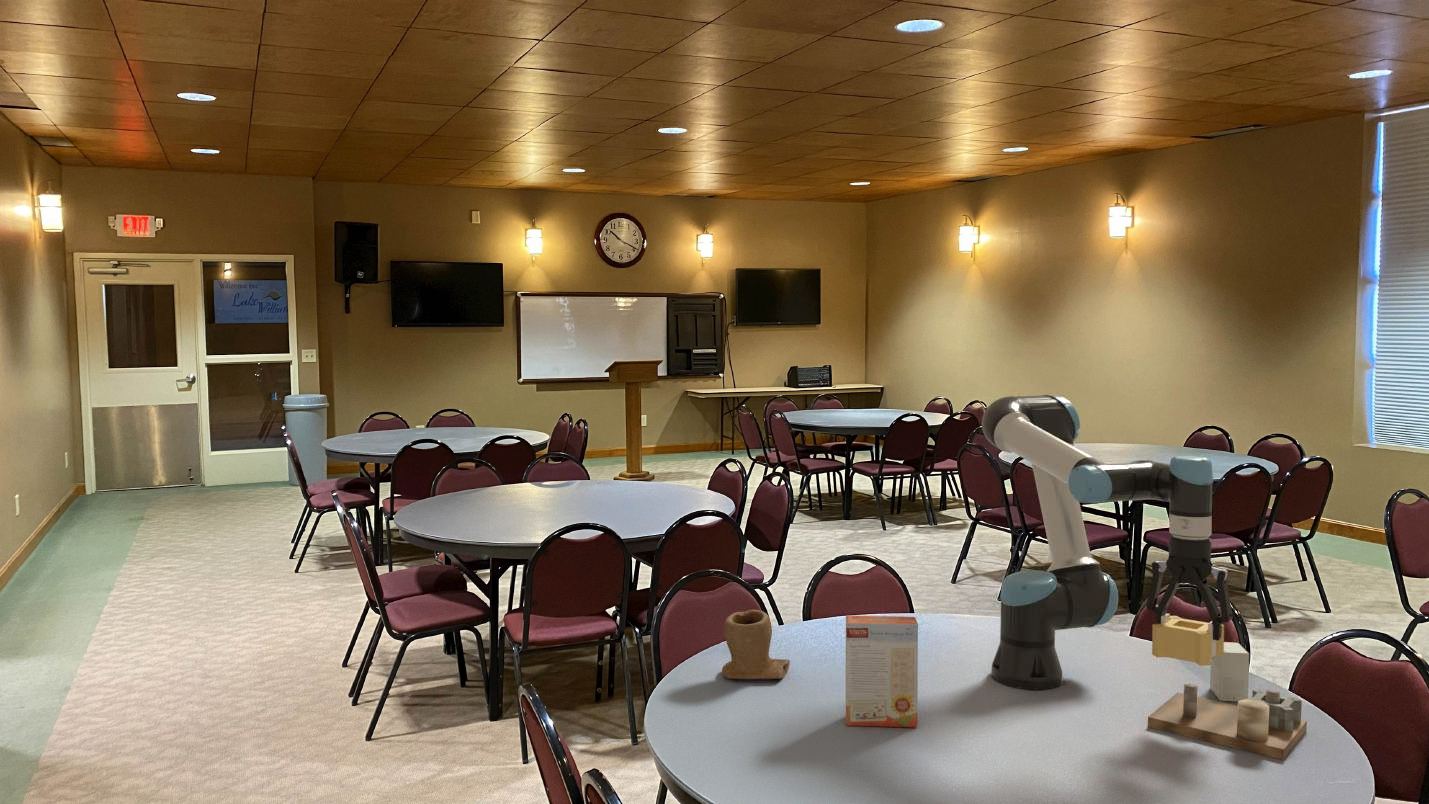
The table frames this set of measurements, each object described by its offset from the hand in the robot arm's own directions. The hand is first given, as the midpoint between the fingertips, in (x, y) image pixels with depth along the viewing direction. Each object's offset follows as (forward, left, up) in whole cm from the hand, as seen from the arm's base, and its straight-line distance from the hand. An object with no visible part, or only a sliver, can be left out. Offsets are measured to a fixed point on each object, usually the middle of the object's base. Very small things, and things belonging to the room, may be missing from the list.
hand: (1187, 651), depth 205 cm
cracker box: (-46, -38, -15) cm, 61 cm away
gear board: (+7, +3, -15) cm, 17 cm away
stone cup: (-81, -34, -15) cm, 89 cm away
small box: (+2, +23, -15) cm, 28 cm away
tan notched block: (0, 0, -1) cm, 1 cm away
